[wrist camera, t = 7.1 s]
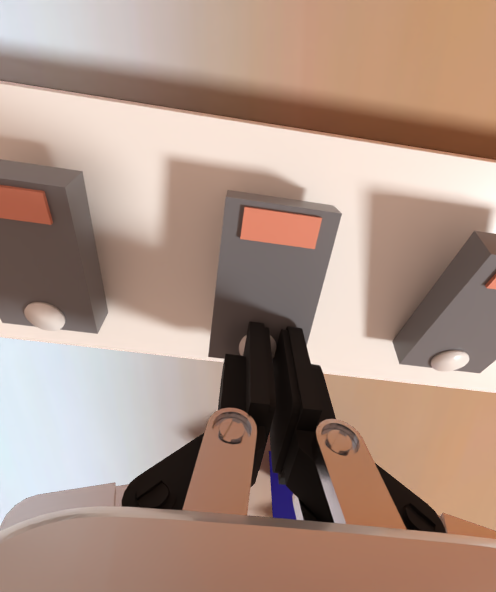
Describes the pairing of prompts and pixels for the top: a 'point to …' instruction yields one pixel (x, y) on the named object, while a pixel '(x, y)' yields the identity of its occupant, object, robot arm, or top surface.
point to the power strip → (210, 211)
